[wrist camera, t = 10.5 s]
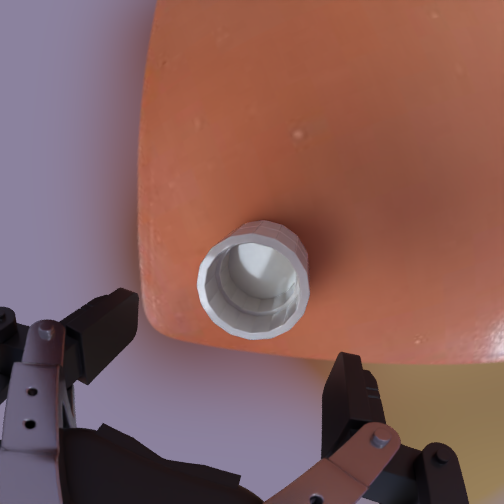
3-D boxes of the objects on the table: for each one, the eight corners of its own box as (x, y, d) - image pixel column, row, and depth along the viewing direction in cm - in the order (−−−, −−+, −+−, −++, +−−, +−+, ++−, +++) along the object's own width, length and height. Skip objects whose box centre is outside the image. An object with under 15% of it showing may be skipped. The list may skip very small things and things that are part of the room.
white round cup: (214, 291, 23) (190, 322, 18) (229, 209, 21) (207, 222, 16) (295, 313, 22) (291, 351, 17) (319, 232, 20) (323, 251, 16)
